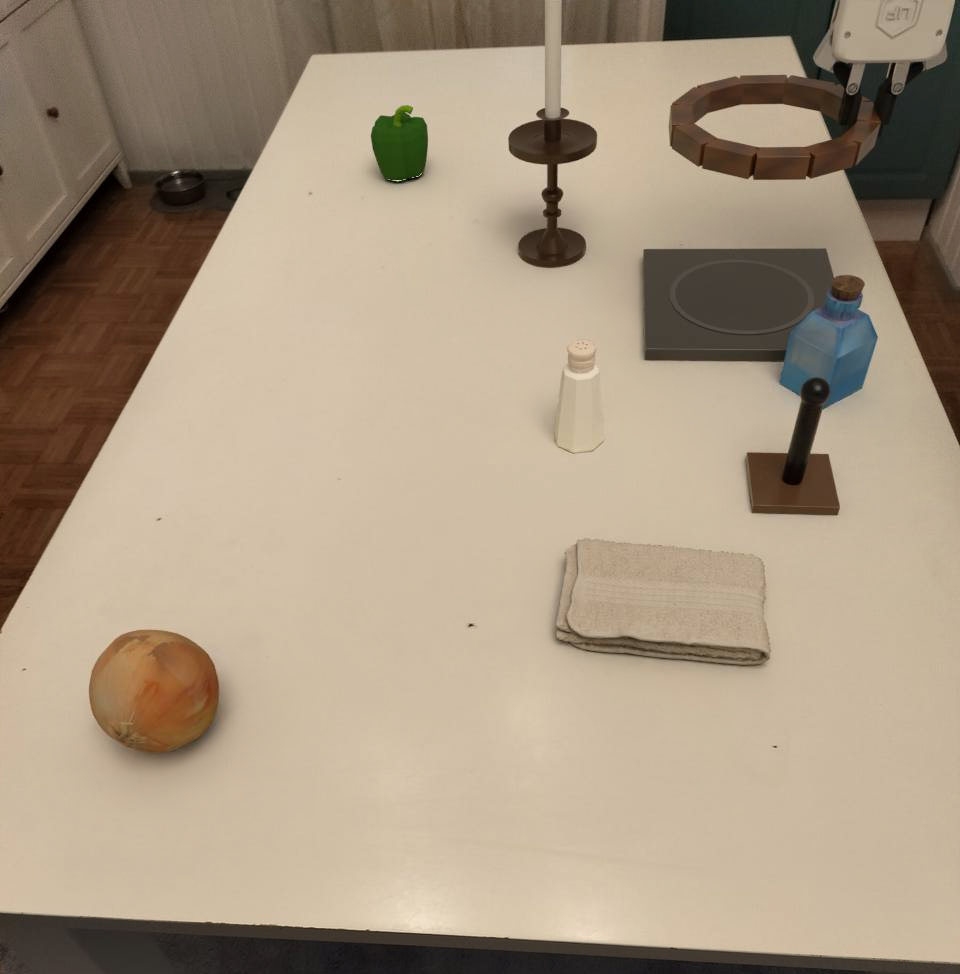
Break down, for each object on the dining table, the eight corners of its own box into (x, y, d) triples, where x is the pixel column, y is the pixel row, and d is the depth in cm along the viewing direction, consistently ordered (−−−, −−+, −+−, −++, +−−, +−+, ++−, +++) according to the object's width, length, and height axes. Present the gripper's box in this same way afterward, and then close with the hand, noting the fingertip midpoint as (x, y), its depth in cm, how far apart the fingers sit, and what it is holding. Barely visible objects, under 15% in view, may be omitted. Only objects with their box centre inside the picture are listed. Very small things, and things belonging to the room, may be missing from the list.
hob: (823, 259, 117) (826, 247, 116) (851, 362, 103) (854, 349, 101) (642, 259, 120) (643, 247, 118) (644, 360, 105) (645, 347, 104)
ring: (854, 95, 101) (860, 72, 99) (888, 179, 88) (895, 155, 86) (666, 98, 103) (668, 76, 101) (672, 180, 90) (674, 157, 88)
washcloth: (566, 554, 86) (566, 530, 83) (762, 568, 83) (768, 544, 81) (552, 652, 78) (552, 628, 76) (767, 670, 76) (775, 647, 73)
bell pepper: (365, 179, 140) (354, 108, 132) (402, 159, 143) (393, 89, 136) (404, 193, 136) (395, 121, 128) (441, 172, 140) (435, 101, 132)
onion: (101, 779, 73) (48, 706, 65) (131, 679, 79) (86, 602, 71) (221, 775, 72) (182, 701, 64) (242, 675, 79) (208, 597, 71)
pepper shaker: (598, 457, 94) (603, 365, 86) (547, 450, 96) (547, 358, 87) (609, 425, 98) (615, 333, 89) (560, 419, 99) (561, 327, 90)
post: (826, 461, 92) (858, 354, 83) (837, 515, 87) (873, 408, 78) (745, 459, 93) (767, 353, 83) (751, 513, 88) (776, 406, 78)
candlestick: (495, 251, 123) (480, -69, 96) (553, 223, 127) (555, -92, 100) (550, 280, 118) (552, -51, 91) (609, 249, 122) (627, -76, 95)
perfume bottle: (862, 388, 99) (894, 285, 90) (822, 409, 97) (851, 306, 88) (818, 362, 103) (845, 260, 94) (779, 383, 101) (802, 280, 92)
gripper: (829, -76, 79) (785, 148, 93) (1024, -83, 77) (949, 146, 91) (817, -99, 83) (777, 118, 98) (1001, -105, 82) (933, 116, 96)
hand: (860, 130), depth 94 cm, fingers closed on ring, 2 cm apart
